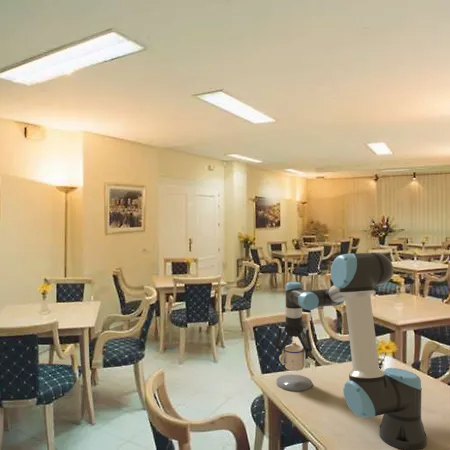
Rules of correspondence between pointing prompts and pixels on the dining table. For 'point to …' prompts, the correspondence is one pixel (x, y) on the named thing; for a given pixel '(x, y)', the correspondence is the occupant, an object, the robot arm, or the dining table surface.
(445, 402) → the dining table surface
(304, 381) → the pad
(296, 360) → the teacup with lid
